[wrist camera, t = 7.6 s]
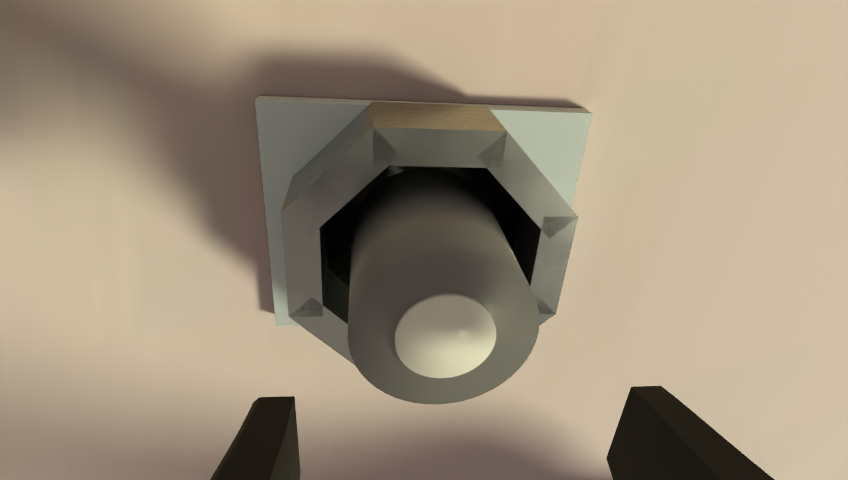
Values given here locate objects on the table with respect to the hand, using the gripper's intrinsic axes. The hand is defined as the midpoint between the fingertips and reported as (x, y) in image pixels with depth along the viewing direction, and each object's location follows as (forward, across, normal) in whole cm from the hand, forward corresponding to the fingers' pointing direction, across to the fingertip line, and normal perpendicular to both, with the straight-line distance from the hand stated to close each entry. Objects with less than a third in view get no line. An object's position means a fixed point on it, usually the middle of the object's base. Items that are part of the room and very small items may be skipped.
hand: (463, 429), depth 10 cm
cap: (+8, 0, 0) cm, 8 cm away
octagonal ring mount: (+8, 0, 0) cm, 8 cm away
